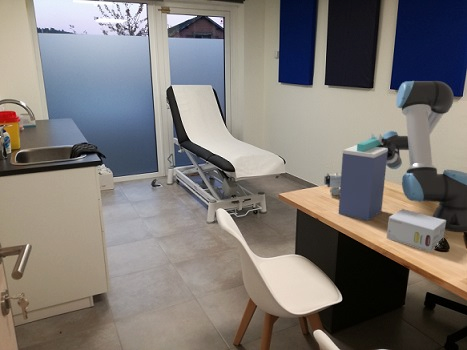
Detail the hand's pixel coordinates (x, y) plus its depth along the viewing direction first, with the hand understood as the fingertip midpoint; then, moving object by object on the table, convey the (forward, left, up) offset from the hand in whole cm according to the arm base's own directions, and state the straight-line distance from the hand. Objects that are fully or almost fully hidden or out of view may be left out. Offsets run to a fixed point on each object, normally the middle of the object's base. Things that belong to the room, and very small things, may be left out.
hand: (374, 136), depth 178 cm
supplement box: (-37, +8, -35) cm, 51 cm away
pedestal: (-5, +9, -34) cm, 36 cm away
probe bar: (-2, +3, -4) cm, 6 cm away
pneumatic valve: (+21, +5, -35) cm, 41 cm away
